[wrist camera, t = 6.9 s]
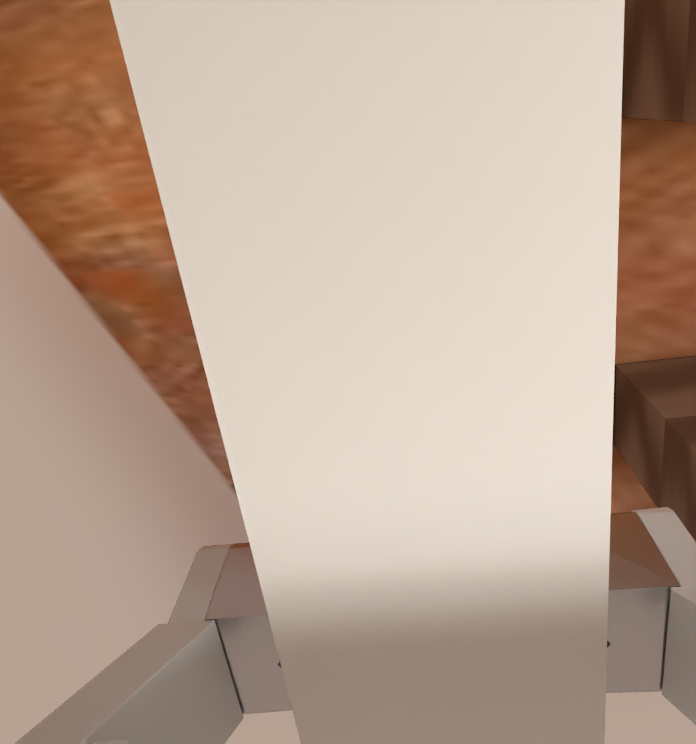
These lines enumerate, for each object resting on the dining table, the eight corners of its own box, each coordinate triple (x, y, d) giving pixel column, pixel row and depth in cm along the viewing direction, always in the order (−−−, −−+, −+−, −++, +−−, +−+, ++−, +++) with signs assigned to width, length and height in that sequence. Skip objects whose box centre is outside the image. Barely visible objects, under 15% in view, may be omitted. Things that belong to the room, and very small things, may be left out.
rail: (201, -75, 8) (54, -212, 4) (514, -135, 8) (634, -342, 4) (375, 803, 15) (374, 1027, 12) (543, 796, 15) (596, 1027, 11)
